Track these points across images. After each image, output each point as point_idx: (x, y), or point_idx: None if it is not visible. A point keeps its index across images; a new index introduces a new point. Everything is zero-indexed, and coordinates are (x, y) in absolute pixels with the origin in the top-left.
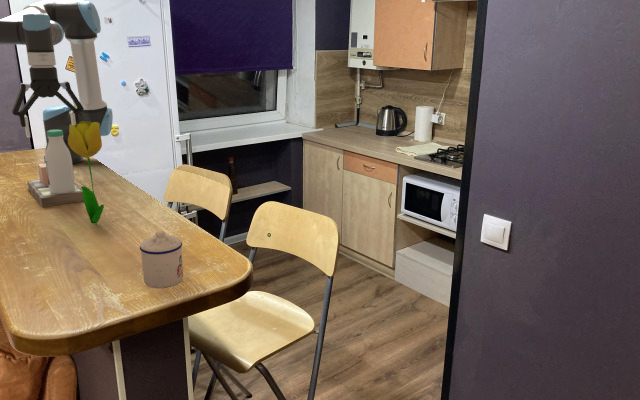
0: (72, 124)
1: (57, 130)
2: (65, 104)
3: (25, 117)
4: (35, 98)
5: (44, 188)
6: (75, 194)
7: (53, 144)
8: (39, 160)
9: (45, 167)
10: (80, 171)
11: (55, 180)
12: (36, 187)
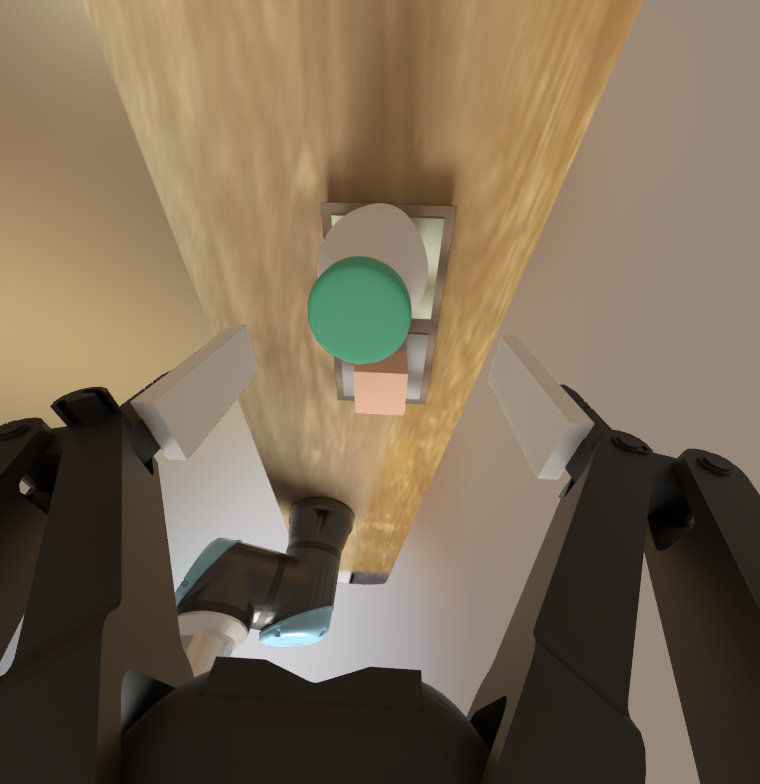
0: (228, 377)
1: (341, 307)
2: (163, 527)
3: (583, 419)
4: (567, 665)
5: (415, 312)
6: (351, 203)
7: (391, 254)
8: (357, 531)
9: (396, 372)
10: (305, 455)
11: (406, 215)
12: (428, 336)
